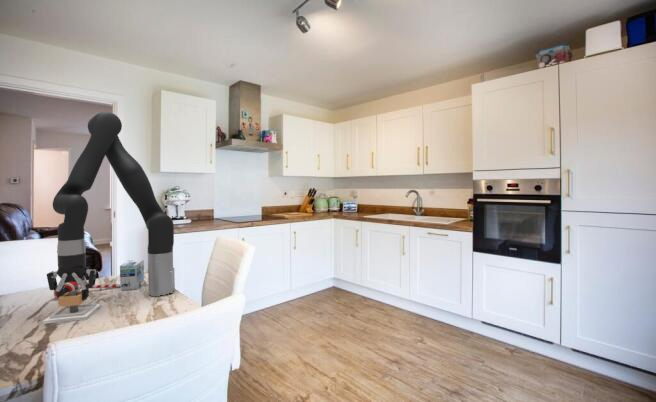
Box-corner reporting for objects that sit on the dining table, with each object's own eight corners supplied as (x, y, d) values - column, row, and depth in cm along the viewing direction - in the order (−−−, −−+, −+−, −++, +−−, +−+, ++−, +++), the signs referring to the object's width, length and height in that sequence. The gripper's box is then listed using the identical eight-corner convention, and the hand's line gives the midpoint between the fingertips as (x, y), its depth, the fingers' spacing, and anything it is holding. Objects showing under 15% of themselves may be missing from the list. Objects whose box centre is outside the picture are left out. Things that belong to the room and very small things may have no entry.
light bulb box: (137, 289, 135) (137, 264, 135) (119, 290, 133) (119, 265, 133) (144, 282, 145) (144, 259, 145) (128, 283, 143) (127, 260, 143)
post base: (101, 306, 116) (100, 285, 116) (86, 319, 105) (85, 295, 104) (62, 309, 113) (61, 287, 112) (43, 323, 101) (42, 299, 101)
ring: (87, 298, 112) (87, 290, 112) (79, 305, 106) (79, 296, 106) (67, 300, 110) (67, 292, 110) (58, 306, 105) (58, 297, 105)
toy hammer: (125, 284, 144) (124, 270, 143) (123, 291, 133) (122, 276, 133) (61, 292, 132) (60, 277, 132) (53, 301, 122) (52, 285, 122)
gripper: (100, 249, 113) (101, 295, 114) (52, 251, 109) (54, 298, 110) (91, 253, 106) (92, 302, 107) (39, 255, 102) (41, 306, 103)
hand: (73, 300), depth 108 cm, fingers closed on ring, 6 cm apart
